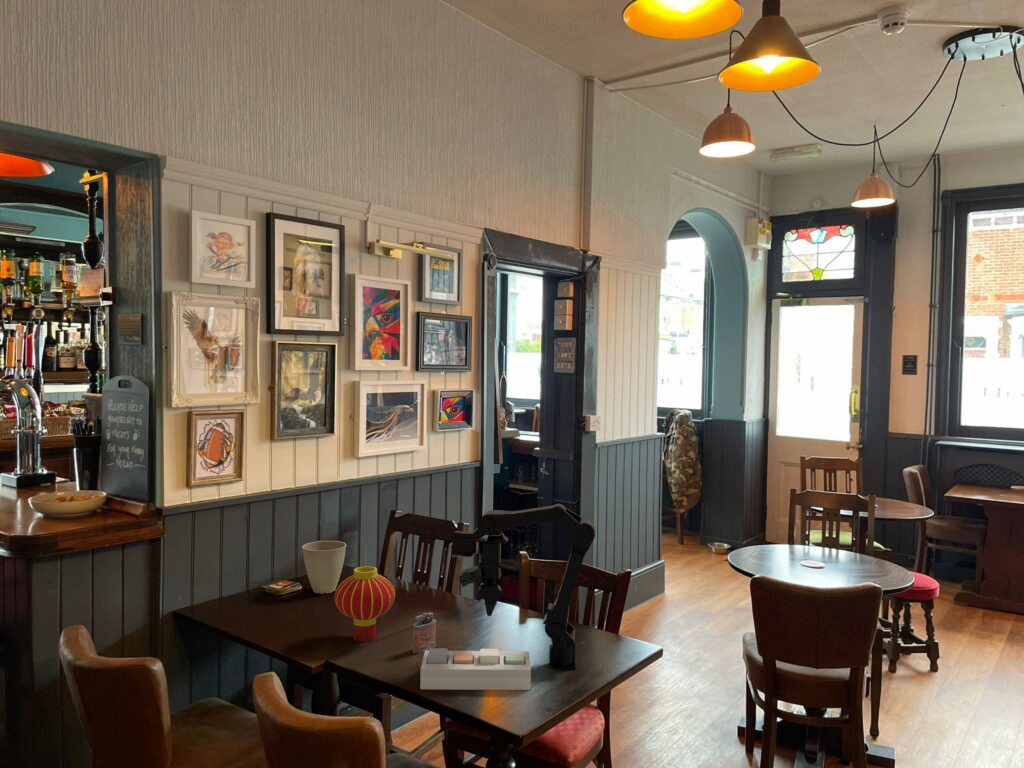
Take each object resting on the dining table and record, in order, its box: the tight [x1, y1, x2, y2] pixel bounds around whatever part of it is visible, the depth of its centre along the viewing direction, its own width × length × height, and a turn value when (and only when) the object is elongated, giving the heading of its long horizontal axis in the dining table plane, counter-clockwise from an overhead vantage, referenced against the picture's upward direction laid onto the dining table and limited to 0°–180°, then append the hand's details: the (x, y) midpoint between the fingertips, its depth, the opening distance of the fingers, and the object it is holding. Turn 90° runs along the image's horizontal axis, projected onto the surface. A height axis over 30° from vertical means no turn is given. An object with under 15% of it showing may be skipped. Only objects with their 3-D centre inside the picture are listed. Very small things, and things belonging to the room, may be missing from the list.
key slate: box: [428, 647, 449, 664], centre depth 191 cm, size 5×5×2 cm
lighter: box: [411, 612, 437, 654], centre depth 211 cm, size 8×3×10 cm, turn 141°
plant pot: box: [301, 540, 347, 595], centre depth 263 cm, size 15×15×16 cm
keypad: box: [419, 650, 532, 691], centre depth 191 cm, size 27×12×5 cm, turn 91°
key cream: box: [479, 648, 499, 664], centre depth 191 cm, size 5×5×2 cm
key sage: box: [506, 653, 524, 665], centre depth 191 cm, size 5×5×2 cm
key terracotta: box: [454, 653, 473, 664], centre depth 191 cm, size 5×5×2 cm
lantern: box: [334, 549, 396, 643], centre depth 218 cm, size 17×17×30 cm
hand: (489, 615), depth 204 cm, fingers closed
